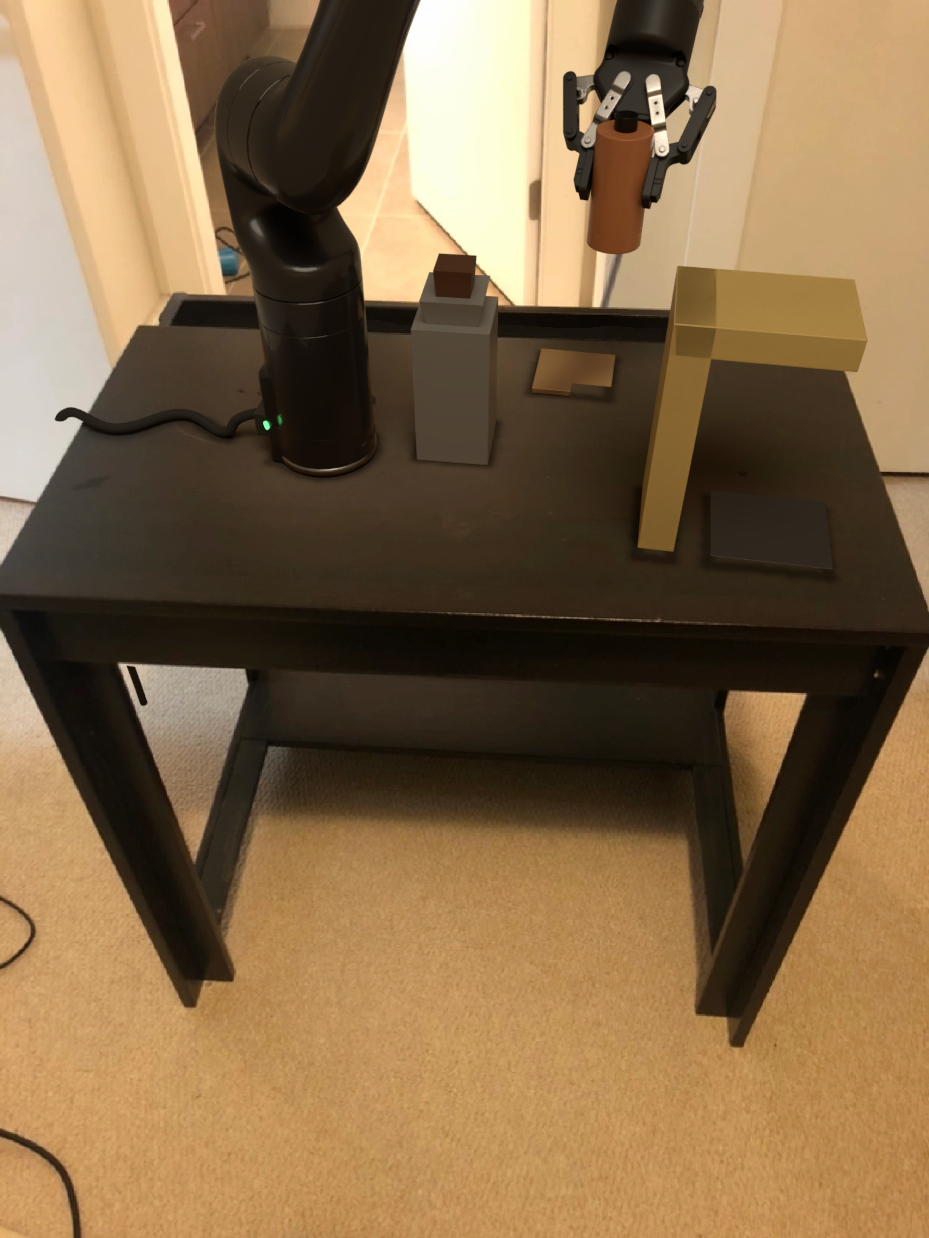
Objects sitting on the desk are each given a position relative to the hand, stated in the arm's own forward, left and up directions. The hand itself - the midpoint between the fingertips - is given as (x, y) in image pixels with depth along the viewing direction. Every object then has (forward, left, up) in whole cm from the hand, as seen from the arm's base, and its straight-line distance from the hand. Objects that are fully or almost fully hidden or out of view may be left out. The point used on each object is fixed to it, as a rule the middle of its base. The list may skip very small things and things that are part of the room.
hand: (614, 200), depth 87 cm
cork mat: (-2, +3, -20) cm, 20 cm away
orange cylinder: (0, +2, -5) cm, 5 cm away
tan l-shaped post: (+14, -20, -20) cm, 31 cm away
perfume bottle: (-12, -11, -20) cm, 26 cm away
